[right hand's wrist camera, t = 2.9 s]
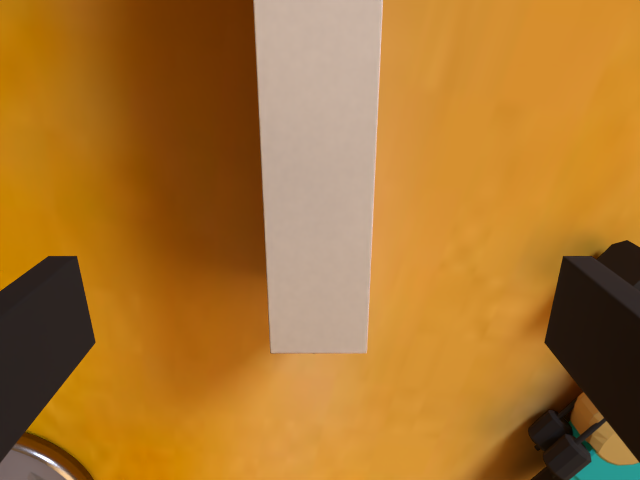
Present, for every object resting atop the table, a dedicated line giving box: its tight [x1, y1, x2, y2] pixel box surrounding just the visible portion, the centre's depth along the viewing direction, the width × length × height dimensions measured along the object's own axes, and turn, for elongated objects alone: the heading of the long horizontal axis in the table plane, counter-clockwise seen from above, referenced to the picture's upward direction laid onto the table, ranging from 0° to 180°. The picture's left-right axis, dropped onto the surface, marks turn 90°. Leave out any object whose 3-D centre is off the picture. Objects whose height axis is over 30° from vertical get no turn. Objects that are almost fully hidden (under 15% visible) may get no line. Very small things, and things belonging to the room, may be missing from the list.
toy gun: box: [528, 240, 640, 480], centre depth 31 cm, size 4×26×15 cm
